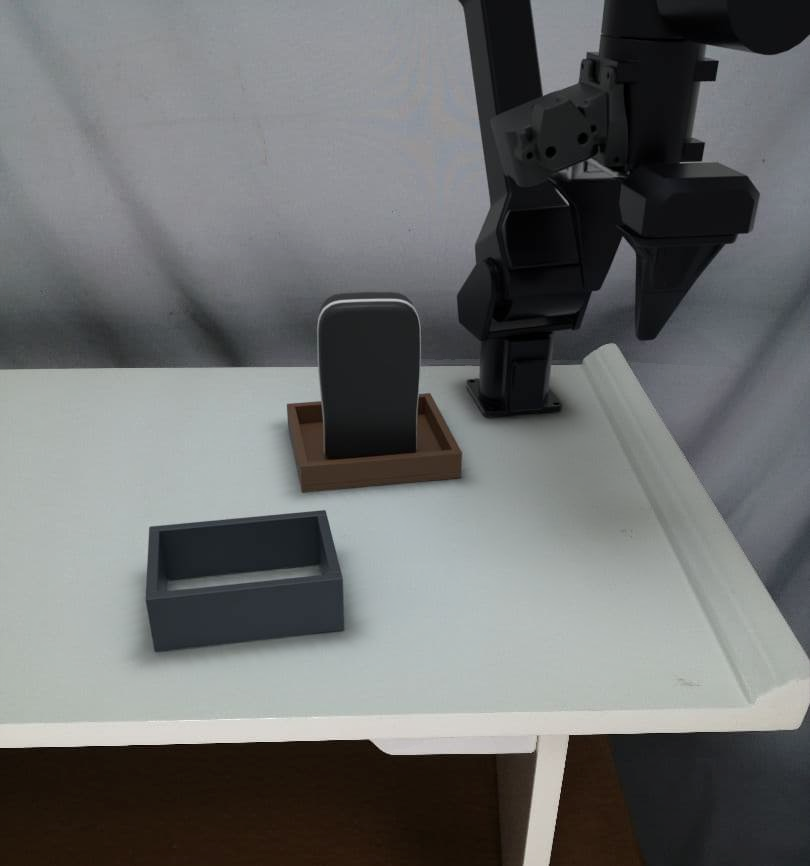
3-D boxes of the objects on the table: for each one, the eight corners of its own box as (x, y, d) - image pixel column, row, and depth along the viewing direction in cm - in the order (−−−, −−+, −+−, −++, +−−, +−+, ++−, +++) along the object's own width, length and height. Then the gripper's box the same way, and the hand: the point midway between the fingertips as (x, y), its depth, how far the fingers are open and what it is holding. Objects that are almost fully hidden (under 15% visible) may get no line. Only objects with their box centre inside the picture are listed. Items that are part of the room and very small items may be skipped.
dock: (157, 576, 56) (148, 526, 54) (327, 558, 58) (325, 509, 56) (154, 652, 50) (145, 599, 48) (344, 630, 52) (342, 578, 50)
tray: (288, 427, 73) (286, 403, 72) (429, 415, 75) (430, 392, 74) (302, 492, 65) (300, 466, 64) (461, 477, 67) (462, 452, 66)
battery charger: (414, 434, 71) (416, 284, 65) (420, 458, 68) (423, 303, 62) (321, 438, 70) (314, 286, 64) (322, 462, 67) (315, 305, 61)
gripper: (468, 22, 58) (458, 275, 67) (568, 56, 43) (538, 380, 51) (640, 21, 60) (609, 267, 68) (795, 54, 44) (730, 367, 53)
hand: (616, 313), depth 60 cm, fingers open, 9 cm apart
